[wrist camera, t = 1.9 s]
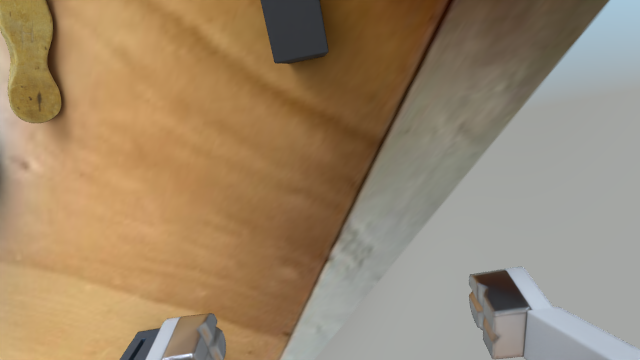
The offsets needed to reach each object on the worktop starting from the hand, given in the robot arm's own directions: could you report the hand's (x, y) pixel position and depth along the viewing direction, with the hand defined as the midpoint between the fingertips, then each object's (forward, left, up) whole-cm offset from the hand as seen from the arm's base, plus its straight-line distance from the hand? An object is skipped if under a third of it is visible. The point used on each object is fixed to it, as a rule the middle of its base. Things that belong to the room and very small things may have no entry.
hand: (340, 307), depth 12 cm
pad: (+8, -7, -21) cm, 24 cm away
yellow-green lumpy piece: (+24, +6, -21) cm, 33 cm away
